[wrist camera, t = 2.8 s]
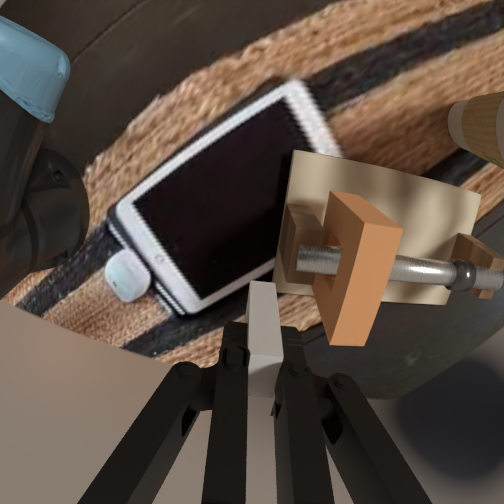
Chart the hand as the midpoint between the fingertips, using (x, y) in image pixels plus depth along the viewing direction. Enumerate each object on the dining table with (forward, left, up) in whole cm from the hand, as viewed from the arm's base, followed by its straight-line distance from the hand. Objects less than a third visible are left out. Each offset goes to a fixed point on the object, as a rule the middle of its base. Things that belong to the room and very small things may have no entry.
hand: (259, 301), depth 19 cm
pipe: (+15, 0, -9) cm, 18 cm away
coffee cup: (+24, +16, -17) cm, 33 cm away
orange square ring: (+8, 0, -12) cm, 14 cm away
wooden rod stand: (+15, 0, -16) cm, 22 cm away
